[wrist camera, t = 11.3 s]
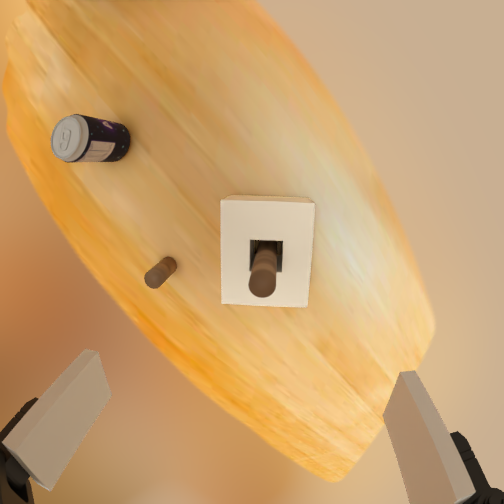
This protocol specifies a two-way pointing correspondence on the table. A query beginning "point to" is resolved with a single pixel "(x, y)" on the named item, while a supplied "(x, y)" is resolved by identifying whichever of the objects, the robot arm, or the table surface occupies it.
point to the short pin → (160, 272)
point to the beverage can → (89, 139)
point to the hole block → (266, 228)
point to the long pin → (264, 269)
